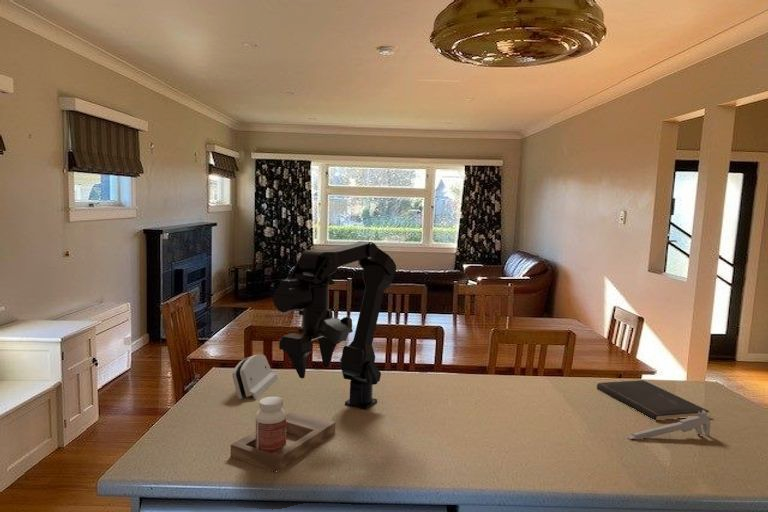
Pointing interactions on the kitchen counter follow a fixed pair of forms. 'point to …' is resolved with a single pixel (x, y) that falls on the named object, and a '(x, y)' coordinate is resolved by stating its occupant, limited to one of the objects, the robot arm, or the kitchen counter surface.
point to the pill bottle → (270, 425)
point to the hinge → (253, 376)
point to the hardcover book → (650, 399)
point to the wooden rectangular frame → (296, 424)
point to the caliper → (678, 427)
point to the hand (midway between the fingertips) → (314, 372)
